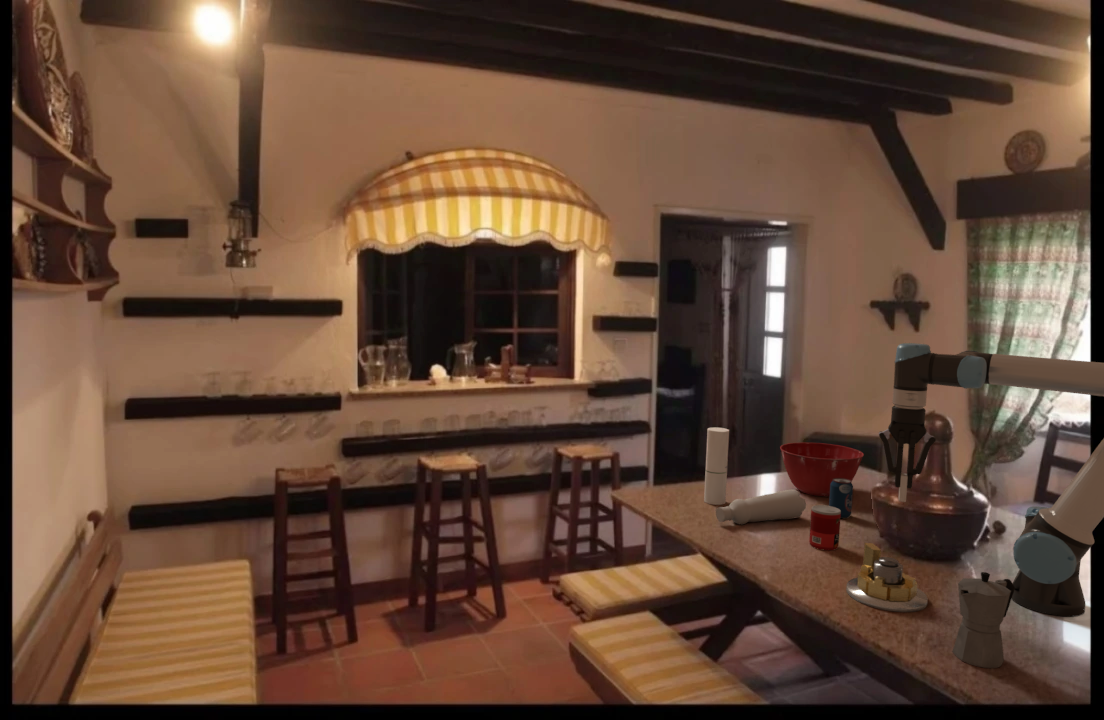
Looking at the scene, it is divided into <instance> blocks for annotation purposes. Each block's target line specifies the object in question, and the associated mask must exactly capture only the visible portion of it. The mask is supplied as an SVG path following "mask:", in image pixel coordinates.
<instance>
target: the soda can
mask: <svg viewBox="0 0 1104 720" xmlns="http://www.w3.org/2000/svg"><path fill="white" fill-rule="evenodd" d="M852 482H853V480H852V481H851V480H849V479H845V478H833V481H832V482H831V484H830V496H828V497H829V500H828V506H832V507H835V508H838V509H840V510H841V518H847V519H849V518H850V516H852V512H853V511H852V509H853V492H854V485H853V484H852Z"/></svg>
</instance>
